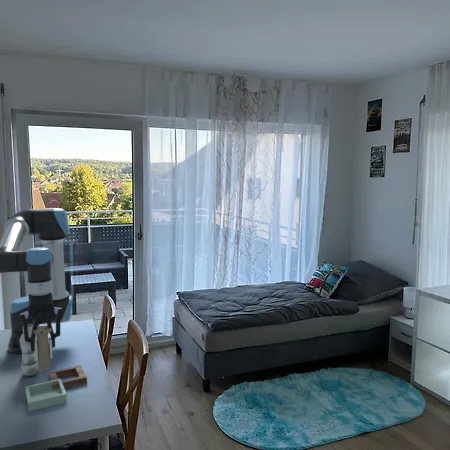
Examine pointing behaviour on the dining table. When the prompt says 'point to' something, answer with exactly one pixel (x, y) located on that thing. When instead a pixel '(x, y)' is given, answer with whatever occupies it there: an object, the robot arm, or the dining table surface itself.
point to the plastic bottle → (28, 355)
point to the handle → (43, 347)
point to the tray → (45, 395)
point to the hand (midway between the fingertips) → (43, 358)
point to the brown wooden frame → (68, 383)
